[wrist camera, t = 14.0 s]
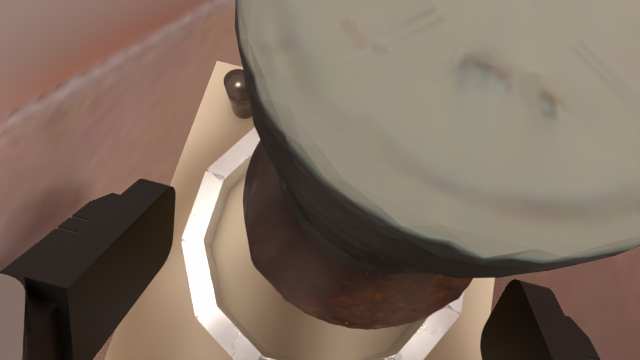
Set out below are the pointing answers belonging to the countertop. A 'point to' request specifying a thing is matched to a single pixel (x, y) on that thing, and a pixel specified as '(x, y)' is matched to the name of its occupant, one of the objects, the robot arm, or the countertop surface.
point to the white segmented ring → (201, 267)
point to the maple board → (254, 278)
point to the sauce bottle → (435, 146)
